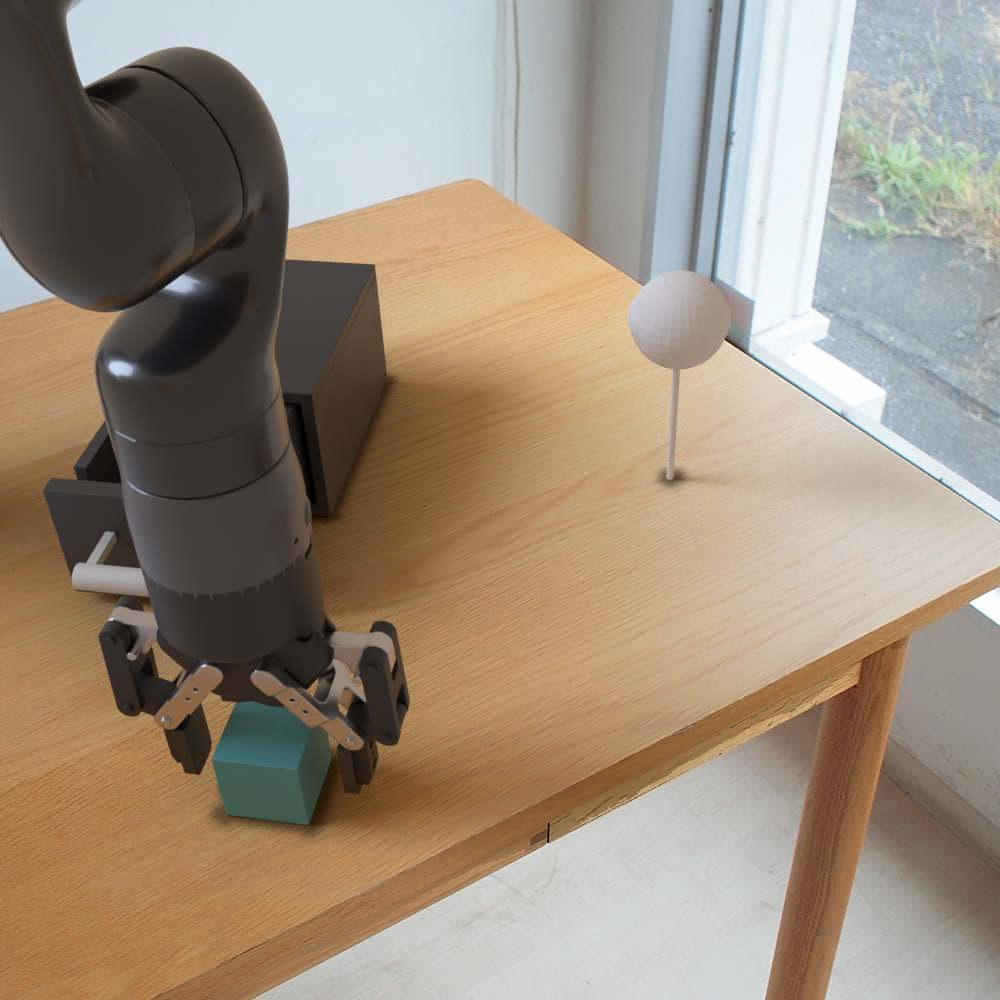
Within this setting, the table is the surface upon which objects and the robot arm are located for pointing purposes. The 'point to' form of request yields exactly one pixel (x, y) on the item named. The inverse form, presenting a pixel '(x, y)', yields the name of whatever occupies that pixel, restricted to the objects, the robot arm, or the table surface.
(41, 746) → the table surface
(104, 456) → the drawer
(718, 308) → the lollipop
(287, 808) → the block
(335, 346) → the cabinet
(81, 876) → the table surface
